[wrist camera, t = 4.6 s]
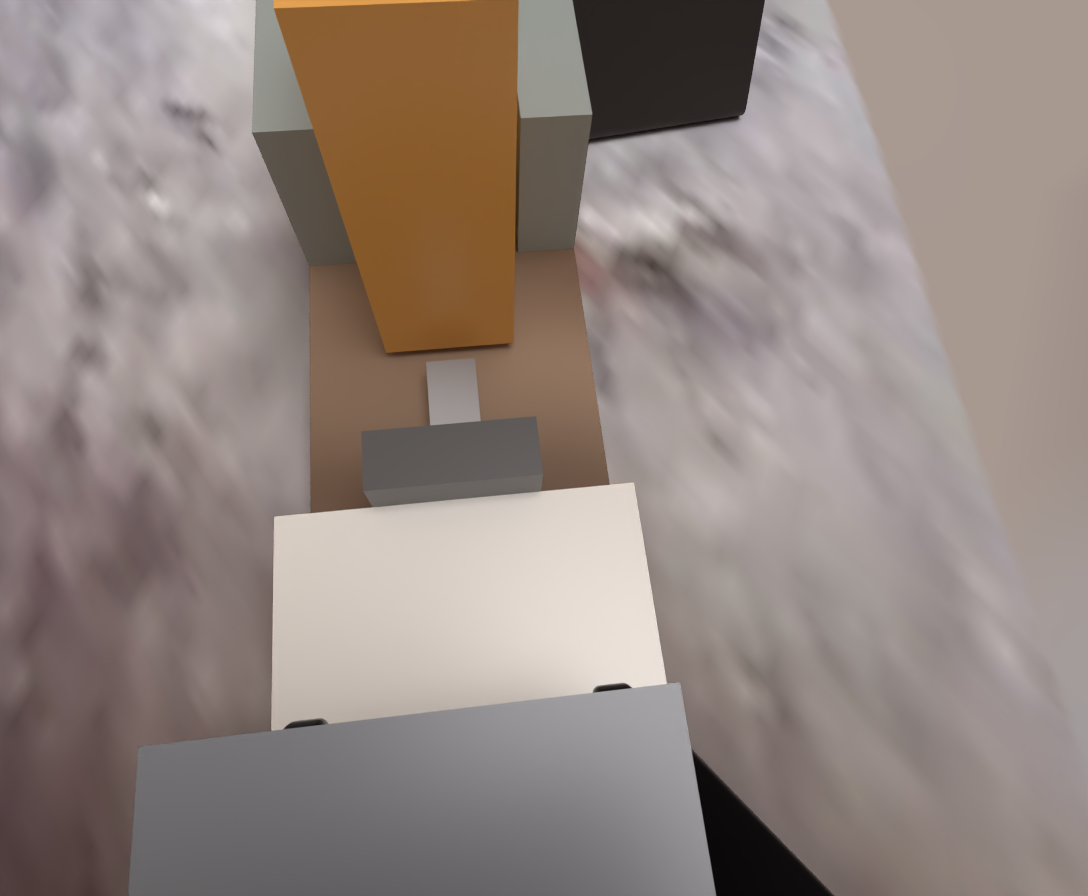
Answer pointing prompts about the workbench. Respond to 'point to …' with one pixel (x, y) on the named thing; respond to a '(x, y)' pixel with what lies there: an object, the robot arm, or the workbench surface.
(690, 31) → the phone stand
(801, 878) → the robot arm
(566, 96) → the end housing
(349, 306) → the rail bed
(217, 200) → the workbench surface
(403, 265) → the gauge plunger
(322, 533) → the carriage
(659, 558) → the workbench surface
